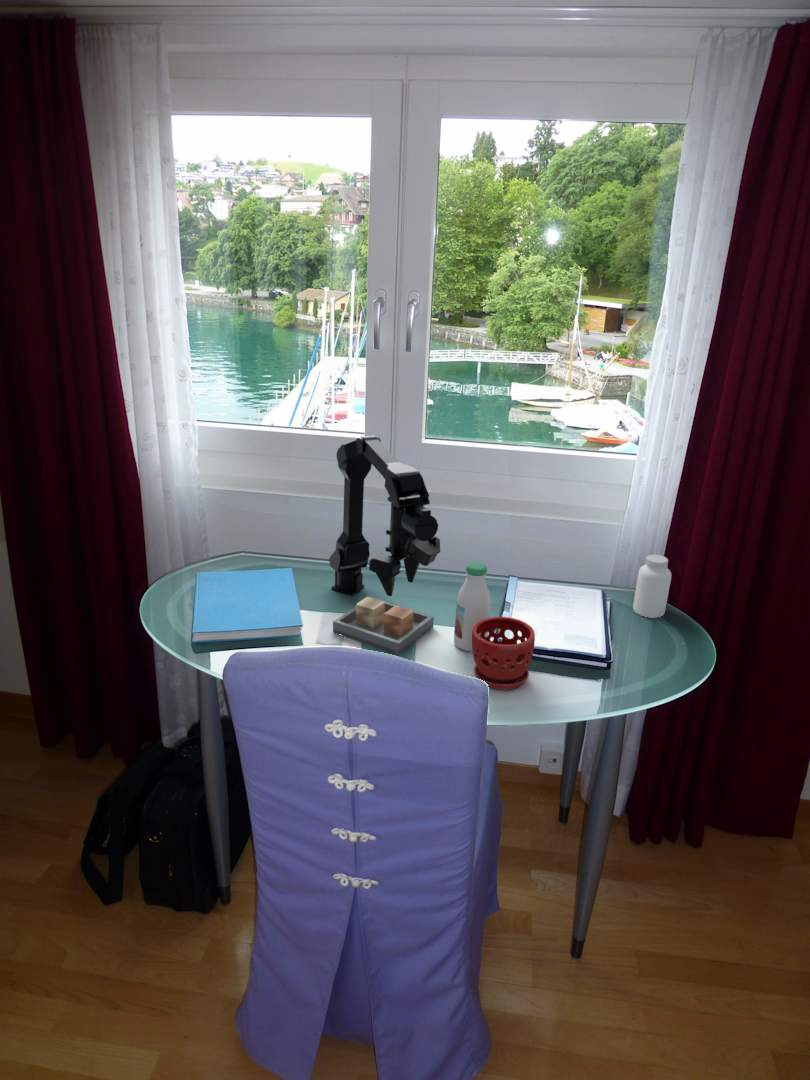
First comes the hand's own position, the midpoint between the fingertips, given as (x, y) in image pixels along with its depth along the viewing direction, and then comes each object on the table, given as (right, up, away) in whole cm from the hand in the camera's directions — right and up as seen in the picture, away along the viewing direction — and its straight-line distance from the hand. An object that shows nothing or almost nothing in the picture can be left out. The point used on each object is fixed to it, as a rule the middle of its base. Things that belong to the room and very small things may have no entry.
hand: (400, 588), depth 187 cm
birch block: (-7, -8, +8) cm, 14 cm away
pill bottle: (+64, -7, +22) cm, 68 cm away
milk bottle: (+16, -13, +2) cm, 21 cm away
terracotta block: (0, -10, +4) cm, 11 cm away
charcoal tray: (-4, -10, +6) cm, 13 cm away
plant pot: (+21, -19, -12) cm, 31 cm away
